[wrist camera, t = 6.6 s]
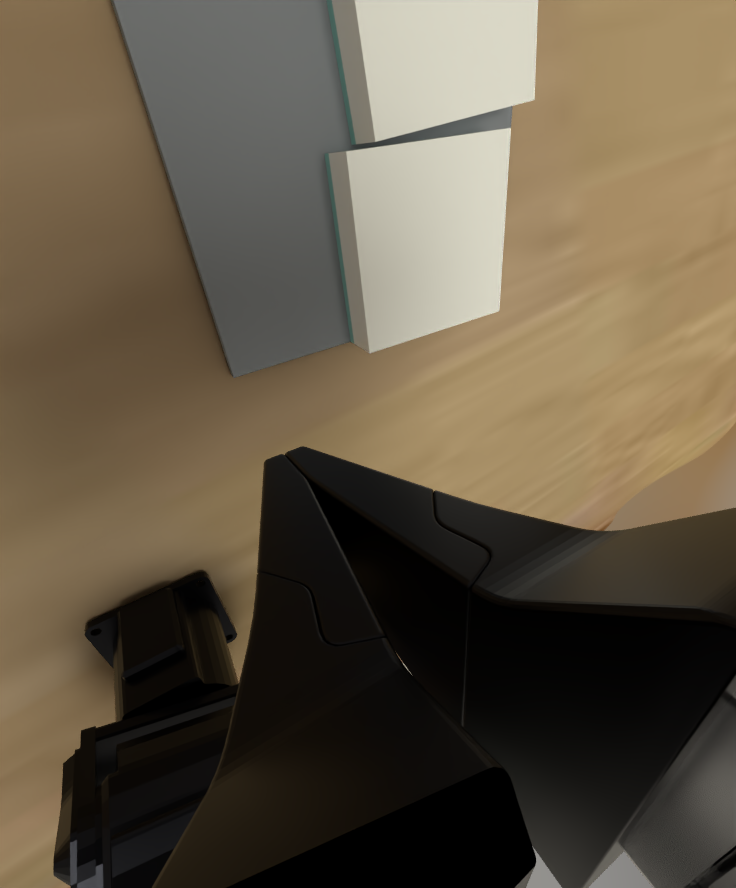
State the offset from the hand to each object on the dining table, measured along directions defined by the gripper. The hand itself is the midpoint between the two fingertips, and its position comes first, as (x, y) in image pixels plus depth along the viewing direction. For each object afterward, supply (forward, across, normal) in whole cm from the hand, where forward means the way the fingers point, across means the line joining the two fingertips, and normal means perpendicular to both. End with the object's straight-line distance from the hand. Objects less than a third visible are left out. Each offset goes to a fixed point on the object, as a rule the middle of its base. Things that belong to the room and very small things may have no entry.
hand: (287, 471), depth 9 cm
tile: (+11, -7, -1) cm, 13 cm away
